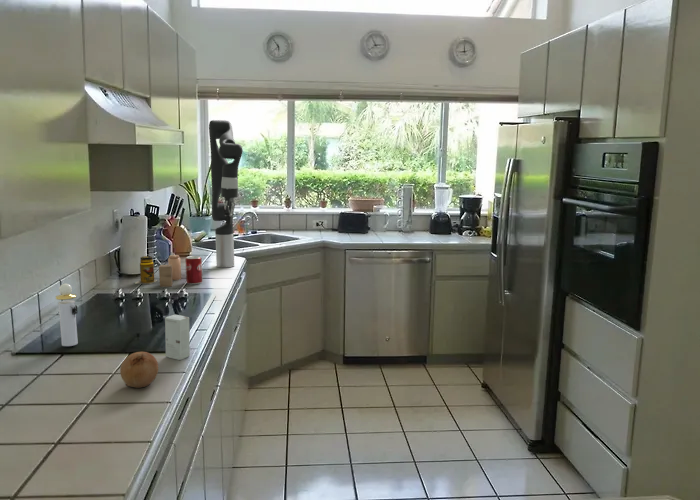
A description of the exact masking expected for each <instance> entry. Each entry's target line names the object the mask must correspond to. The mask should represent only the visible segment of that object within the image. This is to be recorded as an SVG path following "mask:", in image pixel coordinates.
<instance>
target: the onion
mask: <svg viewBox="0 0 700 500" xmlns="http://www.w3.org/2000/svg"><path fill="white" fill-rule="evenodd" d="M119 369H120V370H119V374H120V377H121V380H123V382H124V383H125V386H127V387H131V388H135V389H136V388H137V389H140V388H145V387H148V386H149V385H150V384H151V383H153V382H154V381H155V379H156V378H157V376H158V373H159V363H158V360H157V358H156V357H155V356H154V355H153V354H152V353H150V352H147V351H136V352H133V353H131V354H129V355H128V356H127V357H126V358H124V360H123V361H122V363H121V365H120V368H119Z"/></svg>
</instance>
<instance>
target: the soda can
mask: <svg viewBox="0 0 700 500" xmlns="http://www.w3.org/2000/svg"><path fill="white" fill-rule="evenodd" d="M202 259H203V257H201V256H199V255H195V256H194V255H192V256H186V257H185V282H186V284H187V285H200V284H202V283H203V282H204V281H203V280H204V279H203V260H202Z"/></svg>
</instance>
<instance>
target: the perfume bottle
mask: <svg viewBox="0 0 700 500" xmlns="http://www.w3.org/2000/svg"><path fill="white" fill-rule="evenodd" d="M58 291H59V293H60V294H57V295H56V296H55V300H57V301H58V302H57V303H58V312H59V313H58V315H59V316H58V317H59V325H60V326H59V327H60V328H59V329H60V339H61V346H62V347H72V346H73V347H74V346H76V345H78V343H79V341H78V328H77V318H76V317H77V315H76V314H78V305H76V304H75V303H76V301H75V300H73V299H77V294H76V293H72V292H73V288H72V285H71V284H69V283H62V284H60V286H59V288H58Z"/></svg>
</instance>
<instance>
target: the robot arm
mask: <svg viewBox="0 0 700 500" xmlns="http://www.w3.org/2000/svg"><path fill="white" fill-rule="evenodd" d="M208 135H209V146H210V176H211V177H210V178H211V179H210V180H211V218H212V220H213V221H214V222H225V223H224V224H223V225H221V226H219V227H216V228H215V231H214V233H215V255H216V256H215V262H216V267H217V268H231V267H235V249H234V248H235V244H234V241H235V240H234V211H235V208H236V203H235V200H234V199H237V198H239V197H238V195H239V192H238V191H239V180H238V179H239V178H238V174H239V165H240V161H241V159H242V155H243V147H242V145H241V144H239V143H236V141H235V138H234V132H233V125H232V124H231V122H230V121H229V120H225V119H224V120H221V119H219V120H218V119H217V120H215V119H213V120H210V121H209V123H208ZM217 140H218V141H219V142H218V143H219V146H218V143H217ZM228 160H233V161H232V162H228ZM220 197H222V198H224V201H223V202H222V203H221V202H220V203H219V199H220Z"/></svg>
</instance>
